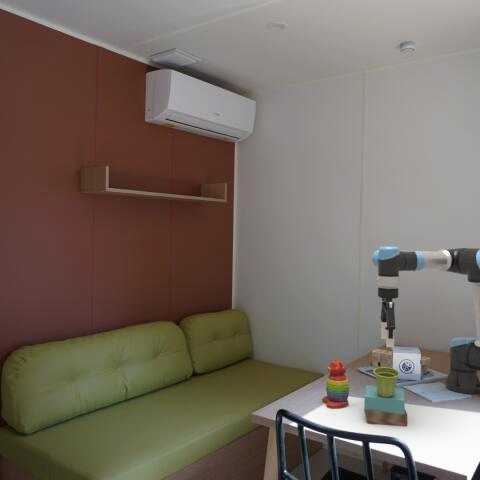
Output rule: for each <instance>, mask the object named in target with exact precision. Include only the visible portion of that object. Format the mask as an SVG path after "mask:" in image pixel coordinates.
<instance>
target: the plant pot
mask: <svg viewBox="0 0 480 480" xmlns="http://www.w3.org/2000/svg"><path fill="white" fill-rule="evenodd" d="M373 374H374V377H375V383H376V386H377V393H378V394H379V395H380V396H383V397H390V396H394V392H395V388H397V387H396V386H397V382H398V379H399V376H400V371H397V370H395V369H392V368H388V367H379V366H378V367H376V368H374V369H373Z"/></svg>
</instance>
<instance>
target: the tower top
mask: <svg viewBox="0 0 480 480" xmlns="http://www.w3.org/2000/svg"><path fill="white" fill-rule="evenodd" d="M365 386H366V389H365V394H364V404H365V410H369V411H378V412H387V413H396V414H404V409H405V410H406V406H405V402H406V401H405V400H406V399H405V390H404V388H398V387H395V392H394V396H390V397H383V396H380V395H379V394H378V393H377V385H376V386H375V385H367V384H366V385H365Z"/></svg>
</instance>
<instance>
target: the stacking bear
mask: <svg viewBox="0 0 480 480" xmlns="http://www.w3.org/2000/svg"><path fill="white" fill-rule="evenodd" d="M346 369H347V367H346V364H345V363H344V362H343V361H342V360H338V359H334V360H333V361H331V363H330V364H329V366H327V372H328V373H329V375H328V377H327V380H326V384H325V391H326V395H325V396H323V397H322V399H321V400H322V402H323V403H325V404H326V408H327V409H331V410H332V409H335V410H336V409H343V408H347V407H348V406H349V403H350V402H349V400H348V399H349V394H350V384H349V379H348V378H347V376H346V375H345V373H346Z"/></svg>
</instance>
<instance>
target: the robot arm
mask: <svg viewBox="0 0 480 480" xmlns="http://www.w3.org/2000/svg"><path fill="white" fill-rule="evenodd" d="M371 262H372V264H373V265H374V266H375V267H376V268H378V269H377V272H378V273H377V274H378V277H377V278H376V281H377V285H378V286H379V287H378V288H377V296H378V298H380V299H381V311H380V321H381V322H380V323H381V326H380V327H381V329H380V330H381V331H380V339H381V340H385V345H386V346H385V347H386V348H395V330H396V327H397V326H396V317H395V315H396V313H395V302H393V300H394V299H398V298H399V294H400V293H399V292H400V291H399V284H400V272H416V271H421V270H422V269H423V270H425V269H426V270H427V269H428V270H438V271H440V272H447V273H448V272H449V273H453V274H457V275H462V276H463V275H464V276H467V282H468V283H469V284H470V285H471V286H472V295H473V308H474V314H475V315H474V317H475V326H476V336H477V337H472V336H471V337H469V336H467V337H466V336H464V337H461V336H460V337H453V338H452V339H451V340H450V346H449V371H448V373H447V376H446V379H445V388H447V389H448V390H450V391H453V392H456V393H460V394H466V395H467V394H469V395H470V394H471V395H472V394H479V393H480V375H479V371H480V248H478V247H476V248H474V247H473V248H472V247H469V248H468V247H459V248H449V249H446V248H445V249H442V248H441V249H439V250H437V251H436V250H435V251H433V250H431V251H430V250H424V251H423V250H400V248H399V247H398V246H380V247H379V249H377V250H376V251H375V250H374V252H373V253H372V255H371Z"/></svg>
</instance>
